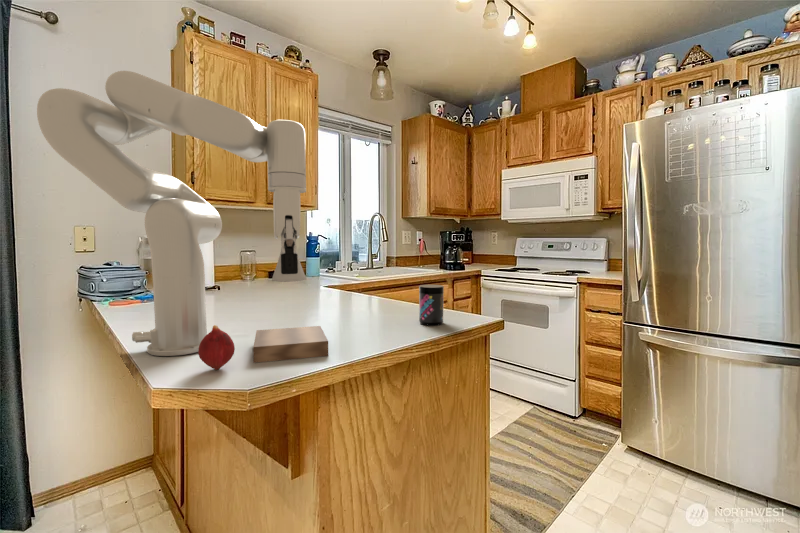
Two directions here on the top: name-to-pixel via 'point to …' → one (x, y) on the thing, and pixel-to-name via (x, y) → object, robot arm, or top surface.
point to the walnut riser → (289, 343)
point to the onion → (216, 348)
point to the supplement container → (431, 304)
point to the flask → (288, 277)
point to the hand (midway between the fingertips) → (289, 271)
